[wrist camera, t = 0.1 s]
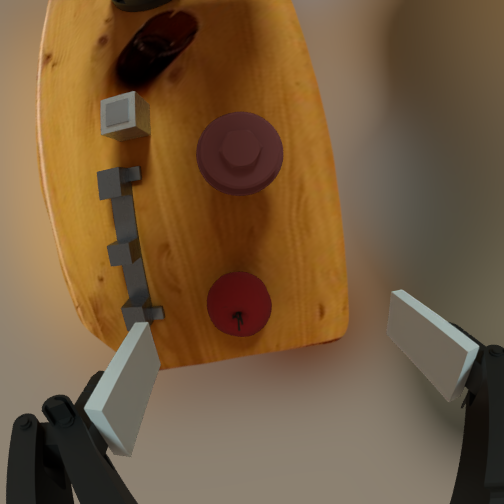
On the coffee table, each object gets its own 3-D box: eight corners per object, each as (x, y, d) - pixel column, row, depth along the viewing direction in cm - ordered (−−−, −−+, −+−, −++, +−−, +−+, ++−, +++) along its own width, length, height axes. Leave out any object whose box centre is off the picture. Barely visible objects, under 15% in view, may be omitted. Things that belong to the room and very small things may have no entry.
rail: (100, 174, 37) (86, 174, 32) (140, 166, 37) (130, 164, 33) (127, 318, 43) (118, 331, 38) (164, 316, 43) (158, 330, 39)
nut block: (119, 111, 35) (99, 99, 28) (149, 104, 35) (133, 90, 28) (120, 141, 36) (100, 134, 29) (151, 135, 36) (134, 125, 29)
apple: (280, 289, 43) (293, 319, 33) (242, 329, 44) (245, 364, 35) (234, 252, 41) (235, 273, 32) (197, 295, 42) (188, 326, 33)
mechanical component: (287, 167, 39) (230, 207, 40) (246, 113, 36) (189, 152, 37) (309, 160, 27) (229, 217, 28) (252, 84, 24) (171, 139, 25)
